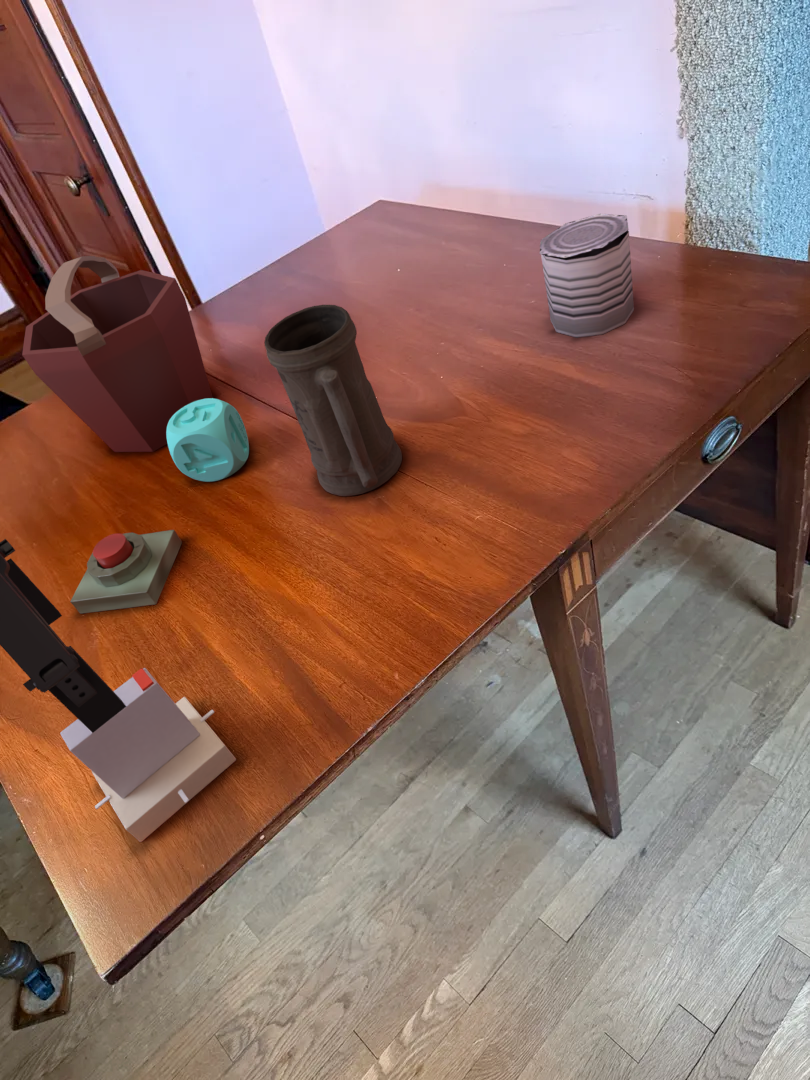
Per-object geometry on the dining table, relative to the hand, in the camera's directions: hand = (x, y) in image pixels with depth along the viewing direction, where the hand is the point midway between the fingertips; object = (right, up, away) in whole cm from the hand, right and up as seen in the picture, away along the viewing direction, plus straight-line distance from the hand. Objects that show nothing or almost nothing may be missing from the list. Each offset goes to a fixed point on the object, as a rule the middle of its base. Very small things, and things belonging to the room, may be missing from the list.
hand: (74, 667), depth 57 cm
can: (+51, +40, +47) cm, 80 cm away
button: (-8, +8, +30) cm, 32 cm away
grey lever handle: (+3, -9, +9) cm, 13 cm away
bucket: (-13, +28, +58) cm, 66 cm away
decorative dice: (0, +20, +45) cm, 49 cm away
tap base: (+4, -11, +10) cm, 16 cm away
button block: (-7, +5, +32) cm, 33 cm away
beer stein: (+21, +17, +34) cm, 43 cm away
